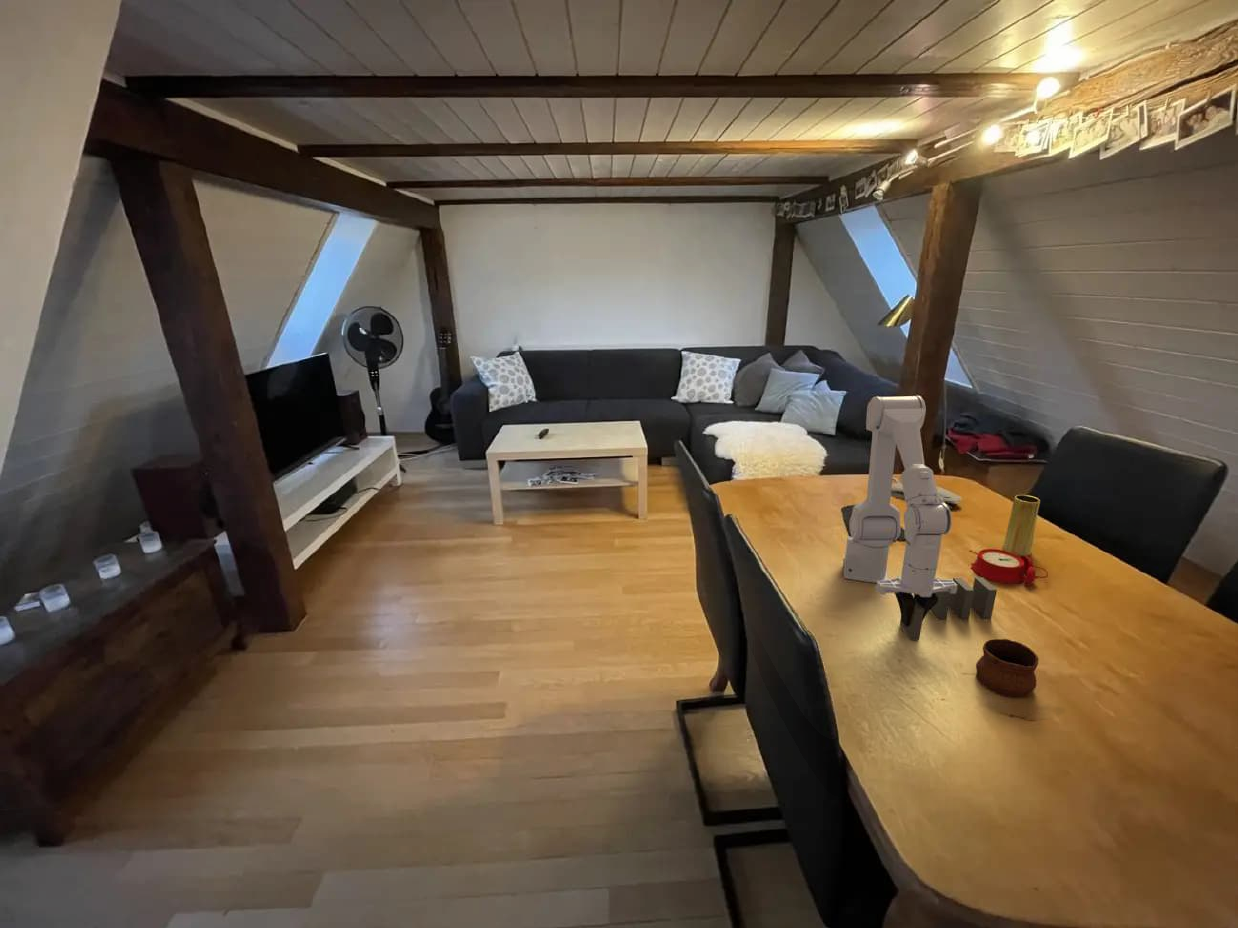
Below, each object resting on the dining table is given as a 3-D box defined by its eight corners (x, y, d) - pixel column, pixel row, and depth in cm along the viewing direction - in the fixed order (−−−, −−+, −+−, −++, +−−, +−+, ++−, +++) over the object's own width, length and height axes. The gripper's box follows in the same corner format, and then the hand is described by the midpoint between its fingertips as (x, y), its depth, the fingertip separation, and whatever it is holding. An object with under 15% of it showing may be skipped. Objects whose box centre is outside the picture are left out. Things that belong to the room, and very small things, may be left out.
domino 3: (982, 619, 118) (989, 590, 116) (969, 606, 123) (974, 577, 120) (990, 619, 118) (997, 589, 116) (976, 606, 123) (982, 577, 120)
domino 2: (960, 620, 118) (966, 590, 116) (948, 606, 123) (953, 577, 120) (968, 619, 118) (974, 590, 116) (955, 606, 123) (960, 577, 120)
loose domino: (910, 639, 112) (915, 608, 110) (899, 624, 117) (904, 594, 114) (919, 639, 112) (924, 608, 110) (907, 624, 117) (912, 594, 114)
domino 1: (938, 620, 118) (943, 590, 116) (926, 606, 123) (931, 578, 121) (946, 620, 118) (951, 590, 116) (934, 606, 123) (939, 577, 121)
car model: (886, 484, 192) (888, 470, 190) (966, 504, 174) (968, 489, 173) (870, 493, 185) (872, 479, 183) (952, 515, 167) (954, 499, 166)
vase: (1004, 554, 143) (1015, 501, 139) (999, 543, 149) (1010, 492, 144) (1033, 557, 141) (1045, 504, 137) (1027, 547, 147) (1039, 495, 142)
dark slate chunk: (892, 511, 171) (894, 496, 169) (910, 544, 151) (913, 528, 149) (837, 508, 174) (839, 494, 173) (849, 541, 154) (850, 524, 152)
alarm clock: (967, 545, 141) (1042, 543, 134) (970, 568, 143) (1044, 567, 135) (970, 564, 132) (1050, 563, 125) (973, 588, 134) (1052, 589, 126)
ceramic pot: (1074, 736, 89) (1084, 698, 87) (944, 699, 97) (949, 664, 95) (1059, 670, 103) (1066, 636, 101) (946, 643, 112) (952, 611, 110)
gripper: (890, 573, 106) (882, 636, 110) (970, 572, 105) (958, 635, 110) (875, 555, 112) (867, 615, 117) (950, 554, 112) (939, 614, 116)
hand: (910, 623), depth 114 cm, fingers closed on loose domino, 1 cm apart
